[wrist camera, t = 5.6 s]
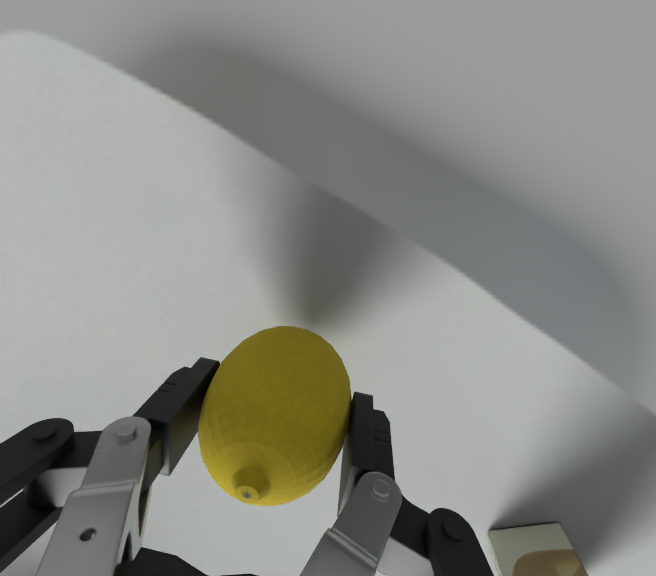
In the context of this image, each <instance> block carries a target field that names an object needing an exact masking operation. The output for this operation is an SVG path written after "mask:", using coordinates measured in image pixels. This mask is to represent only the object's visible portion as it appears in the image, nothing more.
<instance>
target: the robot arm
mask: <svg viewBox="0 0 656 576" xmlns="http://www.w3.org/2000/svg"><path fill="white" fill-rule="evenodd" d="M219 366H220V362H219V361H216V360H212V359H207V358H202V357H201V358H199V359H198V361H197V362H196V363H195V364H194V365H193V366H192V368H188V367H183V368H181V369H179V370H177V371H176V372H174V373H172V374H171V375H170V376H169V377H168V379H167V380H166V381H165V382H164V384H162V385H161V386H160V387H159V388H158V390H157V391H155V392H154V394H153V395H152V396H151V397H150V398H149V399H148V400H147V401H146V402H145V403H144V404H143V405H142V406H141V407H140V409H139V410H138V411H137V412H136V413H135V414H134V415H133V416H132V417H125V418H122V419H119V420H116V421H114V422H113V423H111V424H109V425H108V426H107V427H106V428H105V429H104V430H103V431H87V432H74V427H73V424H72V423H71V422H70V421H69V420H66V419H62V418H52V419H46V420H42V421H39V422H37V423H34V424H32V425H30V426H28V427H27V428H25V429H23V430H22V431H20V432H19V433H17V434H15V435H14V436H12V437H11V438H9V439H7V440H6V441H4V442H2V443H1V444H0V505H1V504H3V503H4V502H5V501H7V500H8V499H9V498H11V497H12V496H13V495H15V494H16V493H17V492H18V491H20V490H21V489H22V488H23V489H24V490H23V491H22V492H21V493H19V494H18V495H17V496H15V497H14V498H13V499H11V500H10V501H9V502H8V503H6V504H5V505H4V506H2V507H1V508H0V573H1V572H2V571H3V570H4V569H5V568H6V567H7V566H8V565H10V564H11V563H12V562H13V561H14V560H15V559H16V558H17V557H18V556H19V555H20V554H22V553H23V552H24V551H25V550H26V549H27V548H28V547H29V546H30V545H31V544H32V543H33V542H35V541H36V540H37V539H38V538H39V537H40V536H41V535H42V534H43V533H44V532H45V531H47V530H48V529H49V528H50V527H51V526H52V525H53V524H54V523H55V522H56V521H57V520H58V522H57V524H56V526H55V529H54V531H53V534H52V536H51V538H50V541H49V543H48V546H47V548H46V551H45V553H44V555H43V558H42V560H41V563H40V565H39V567H38V570H37V572H36V575H35V576H208V575H206V574H204V573H202V572H201V571H199V570H198V569H196V568H195V567H193V566H191V565H190V564H188V563H187V562H185V561H184V560H182V559H181V558H179V557H178V556H176V555H172V554H168V553H163V552H159V551H155V550H151V549H147V548H143V547H141V545H142V539H143V534H144V529H145V523H146V518H147V512H148V507H149V502H150V496H151V491H152V483H153V481H154V480H155V478H156V477H157V475H158V474H162V475H166V476H170V474H171V473H172V471H173V470H174V468H175V466H176V465H177V463H178V462H179V460H180V459H181V457H182V455H183V454H184V452H185V451H186V449H187V447H188V446H189V444H190V443H191V441H192V440H193V438H194V436H195V435H196V433H197V432H198V427H199V420H200V414H201V409H202V404H203V400H204V397H205V394H206V392H207V389H208V387H209V385H210V383H211V381H212V379H213V377H214V375H215V373H216V371H217V370H218V368H219ZM390 433H391V432H390V422H389V420H388V418H387V417H386V415H385V413H384V411H379V410H375V409H373V396H372V395H368V394H364V393H359V392H354V395H353V399H352V409H351V416H350V421H349V425H348V430H347V434H346V438H345V441H344V444H343V455H342V467H341V479H340V491H339V502H338V514H337V517H338V518H337V520H336V522H335V524H334V525H333V527H332V528H331V529H330V528H328V529H327V531H326V532H325V533H324V535H323V537H322V538H321V540H320V542H319V543H318V545H317V547H316V549H315V550H314V552H313V554H312V555H311V557H310V559H309V561H308V562H307V564H306V566H305V567H304V569H303V571H302V573H301V574H300V576H374V575H375V573H376V570H377V571H378V572H380V573H381V574H383V575H384V576H494V575H493V573H492V570H491V568H490V566H489V564H488V562H487V559H486V557H485V555H484V553H483V551H482V548H481V546H480V544H479V542H478V539H477V537H476V535H475V533H474V531H473V529H472V528H471V526H470V525H469V523H468V522H467V521H466V520H465V519H464V518H463V517H462V516H460V515H459V514H457V513H456V512H454V511H452V510H449V509H445V508H438V509H435V510H433V511H432V512H431V513H430V514H429V513H427V512H426V511H424V510H422V509H420V508H418V507H417V506H415V505H413V504H412V503H410V502H409V501H408V500H407V499H406V498H405V497H404V496H403V495H402V494H401V490H400V488H399V486H398V485H397V484H396V482H395V477H394V466H393V455H392V444H391V435H390ZM222 576H257V575H253V574H238V575H222Z"/></svg>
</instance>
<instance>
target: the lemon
mask: <svg viewBox="0 0 656 576" xmlns="http://www.w3.org/2000/svg"><path fill="white" fill-rule="evenodd" d="M351 409H352V400H351V390H350V381H349V377H348V374H347V371H346V369H345V367H344V364H343V362H342V359H341V358H340V356H339V355H338V354H337V352H336V351H335V350H334V348H333V347H332V346H331V345H330V344H329V343H328V342H327V341H325V340H324V339H323V338H322V337H321V336H319V335H317V334H315V333H313V332H311V331H309V330H306V329H302V328H298V327H293V326H278V327H274V328H270V329H266V330H262V331H260V332H258V333H256V334H254V335H253V336H251V337H249V338H247V339H245V340H244V341H243V342H241V343H240V344H239V345H238V346H237V347H236V348H235V349H234V350H233V351H232V352H231V353H230V354H229V355H228V356H227V357H226V358H225V359H224V360H223V362H222V363H221V365H220V366H219V368H218V370H217V371H216V373H215V375H214V377H213V379H212V381H211V383H210V385H209V387H208V389H207V392H206V394H205V397H204V400H203V404H202V409H201V414H200V420H199V427H198V437H199V445H200V452H201V456H202V458H203V461H204V463H205V465H206V467H207V470H208V472H209V473H210V475H211V476H212V478H213V479H214V480H215V481H216V483H217V484H218V485H219V486H220V487H221V488H222V489H223V490H224V491H225V492H227V493H228V494H229V495H231V496H232V497H234V498H236V499H238V500H240V501H242V502H245V503H248V504H253V505H259V506H275V505H279V504H284V503H287V502H291V501H293V500H295V499H297V498H299V497H301V496H303V495H305V494H307V493H309V492H310V491H311V490H312V489H313V488H314V487H315V486H317V485H318V484H319V483H320V482H321V481H322V480H323V479H324V478H325V477H326V475H327V474H328V473H329V471H330V469H331V468H332V466H333V464H334V462H335V461H336V459H337V457H338V455H339V453H340V451H341V449H342V446H343V444H344V441H345V438H346V434H347V430H348V425H349V421H350V416H351Z"/></svg>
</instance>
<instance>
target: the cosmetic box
mask: <svg viewBox="0 0 656 576" xmlns="http://www.w3.org/2000/svg"><path fill="white" fill-rule="evenodd" d="M488 539H489V543H490V547H491V551H492V555H493V558H494V562H495V565H496V569H497V572H498V575H499V576H588V574H587V573H586V571H585V569H584V567H583V565H582V563H581V561H580V560H579V558H578V556H577V554H576V552H575V551H574V549H573V547H572V545H571V543H570V541H569V539H568V538H567V536H566V534H565V532H564V530H563V528H562V527H561V525H560V524H559V523H552V524H543V525H534V526H525V527H516V528H509V529H500V530H492V531H489V532H488Z"/></svg>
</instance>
